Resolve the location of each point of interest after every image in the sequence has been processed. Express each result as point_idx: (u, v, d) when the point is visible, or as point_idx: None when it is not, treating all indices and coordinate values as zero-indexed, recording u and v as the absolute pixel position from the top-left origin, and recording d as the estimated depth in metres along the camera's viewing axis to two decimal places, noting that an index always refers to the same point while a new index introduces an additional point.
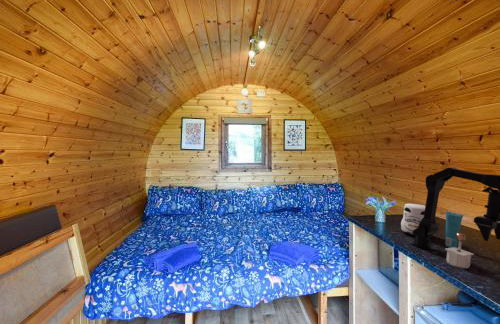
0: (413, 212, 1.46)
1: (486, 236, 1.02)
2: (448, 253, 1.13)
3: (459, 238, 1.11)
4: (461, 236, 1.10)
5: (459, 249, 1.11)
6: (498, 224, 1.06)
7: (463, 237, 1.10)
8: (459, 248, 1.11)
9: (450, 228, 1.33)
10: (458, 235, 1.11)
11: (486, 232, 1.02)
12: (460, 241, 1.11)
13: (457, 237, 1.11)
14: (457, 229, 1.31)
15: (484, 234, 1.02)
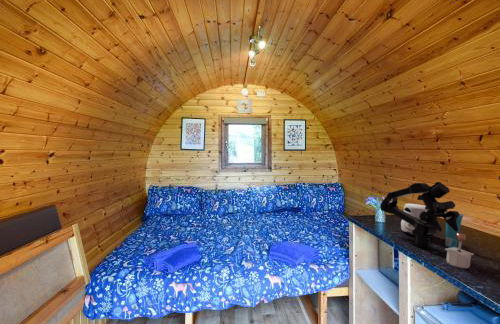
0: (413, 212, 1.46)
1: (437, 227, 1.17)
2: (448, 253, 1.13)
3: (459, 238, 1.11)
4: (461, 236, 1.10)
5: (459, 249, 1.11)
6: (449, 220, 1.22)
7: (463, 237, 1.10)
8: (459, 248, 1.11)
9: (450, 228, 1.33)
10: (458, 235, 1.11)
11: (434, 223, 1.18)
12: (460, 241, 1.11)
13: (457, 237, 1.11)
14: None
15: (436, 226, 1.18)
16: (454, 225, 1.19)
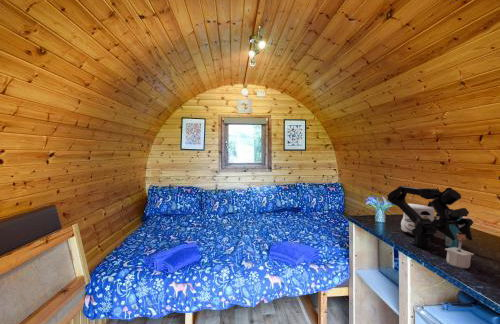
0: None
1: (450, 235, 1.11)
2: (448, 253, 1.13)
3: (459, 238, 1.11)
4: (461, 236, 1.10)
5: (459, 249, 1.11)
6: (462, 228, 1.16)
7: (463, 237, 1.10)
8: (459, 248, 1.11)
9: (451, 228, 1.33)
10: (458, 235, 1.11)
11: (447, 232, 1.12)
12: (460, 241, 1.11)
13: (457, 237, 1.11)
14: (457, 229, 1.31)
15: (448, 235, 1.12)
16: (468, 233, 1.13)
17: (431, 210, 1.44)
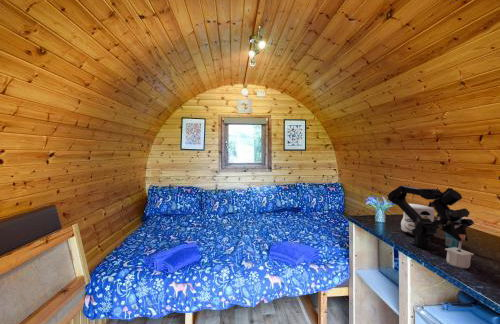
0: None
1: (456, 236, 1.11)
2: (448, 253, 1.13)
3: None
4: (461, 236, 1.10)
5: (459, 249, 1.11)
6: (457, 228, 1.15)
7: (463, 237, 1.10)
8: (459, 248, 1.11)
9: None
10: None
11: (453, 232, 1.12)
12: (460, 241, 1.11)
13: None
14: None
15: (454, 235, 1.12)
16: None
17: (431, 210, 1.44)
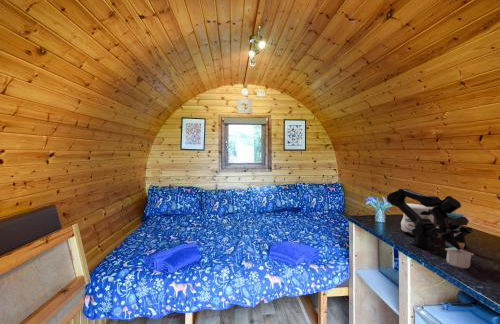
0: None
1: (455, 244, 1.11)
2: (448, 253, 1.13)
3: None
4: (460, 244, 1.10)
5: None
6: (456, 236, 1.15)
7: (462, 245, 1.10)
8: None
9: None
10: None
11: (452, 240, 1.12)
12: (459, 249, 1.11)
13: None
14: None
15: (453, 244, 1.12)
16: None
17: None
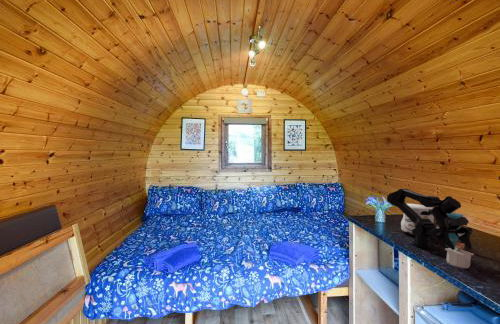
0: None
1: (450, 244, 1.11)
2: (448, 253, 1.13)
3: (458, 247, 1.11)
4: (460, 245, 1.10)
5: None
6: (461, 236, 1.16)
7: (462, 246, 1.10)
8: None
9: None
10: (457, 244, 1.11)
11: (447, 241, 1.12)
12: (459, 250, 1.11)
13: (456, 246, 1.12)
14: (457, 229, 1.31)
15: (448, 244, 1.11)
16: (467, 242, 1.13)
17: None
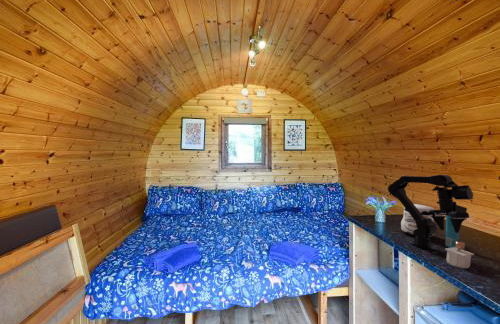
0: None
1: (458, 228, 1.15)
2: (448, 253, 1.13)
3: (458, 247, 1.11)
4: (460, 245, 1.10)
5: None
6: (439, 217, 1.26)
7: (462, 246, 1.10)
8: None
9: (450, 228, 1.33)
10: (457, 244, 1.11)
11: (458, 224, 1.15)
12: (459, 250, 1.11)
13: (456, 246, 1.12)
14: None
15: (456, 227, 1.15)
16: (442, 224, 1.25)
17: None
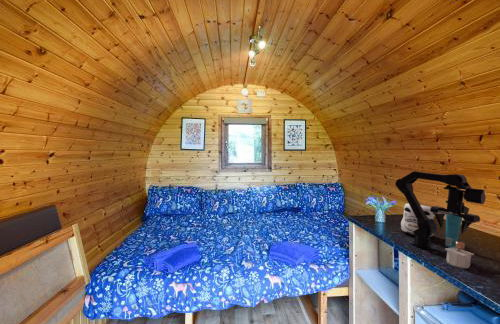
0: (413, 212, 1.46)
1: (465, 230, 1.15)
2: (448, 253, 1.13)
3: (458, 247, 1.11)
4: (460, 245, 1.10)
5: None
6: (440, 215, 1.24)
7: (462, 246, 1.10)
8: None
9: (450, 228, 1.33)
10: (457, 244, 1.11)
11: (466, 226, 1.15)
12: (459, 250, 1.11)
13: (456, 246, 1.12)
14: (457, 229, 1.31)
15: (464, 229, 1.15)
16: (442, 222, 1.24)
17: None
